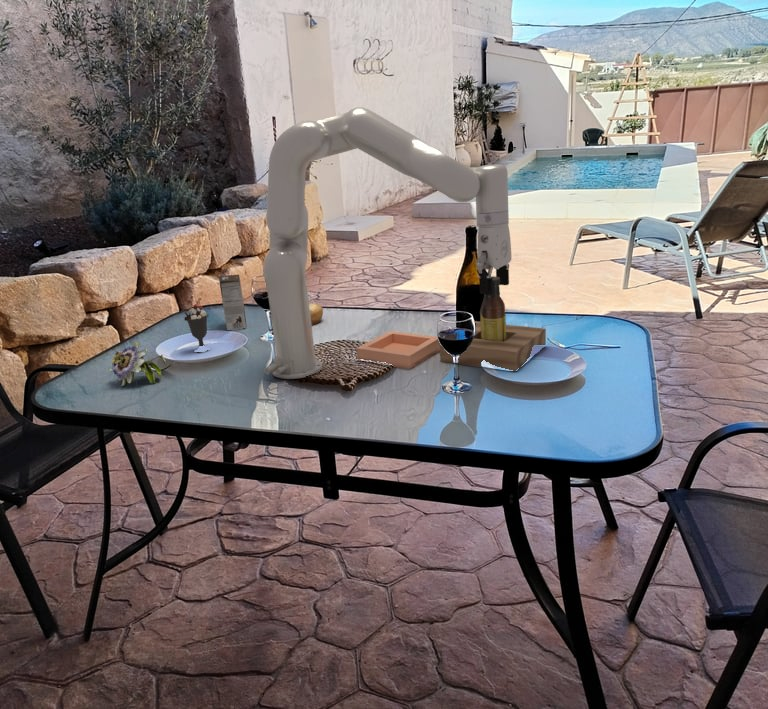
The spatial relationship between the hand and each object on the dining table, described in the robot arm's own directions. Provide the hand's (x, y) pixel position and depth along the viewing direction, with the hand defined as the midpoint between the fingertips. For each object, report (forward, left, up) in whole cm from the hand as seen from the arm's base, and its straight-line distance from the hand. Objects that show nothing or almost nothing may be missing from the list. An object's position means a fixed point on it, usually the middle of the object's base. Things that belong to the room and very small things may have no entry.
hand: (494, 289), depth 153 cm
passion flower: (-52, +74, -17) cm, 93 cm away
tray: (-10, +22, -17) cm, 30 cm away
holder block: (0, 0, -17) cm, 17 cm away
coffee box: (-6, +87, -17) cm, 89 cm away
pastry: (+6, +68, -17) cm, 71 cm away
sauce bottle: (0, 0, -17) cm, 17 cm away
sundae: (-28, +78, -17) cm, 85 cm away
